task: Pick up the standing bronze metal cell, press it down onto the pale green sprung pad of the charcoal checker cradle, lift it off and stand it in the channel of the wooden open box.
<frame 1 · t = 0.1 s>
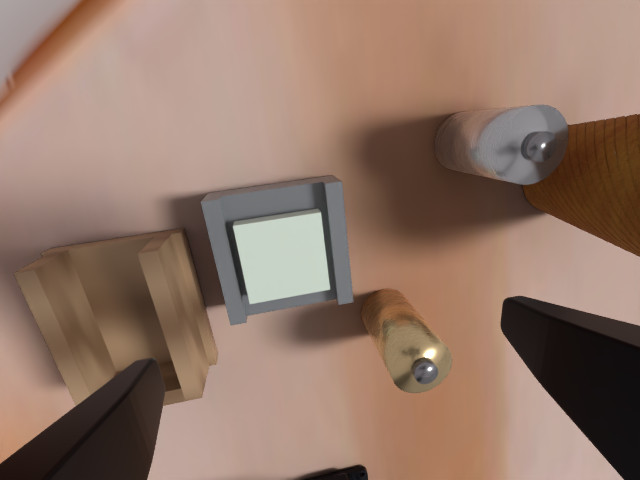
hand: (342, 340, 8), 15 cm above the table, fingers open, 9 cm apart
wooden open box: (142, 306, 22), on the table
disposable coffee cup: (558, 169, 24), on the table
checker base: (281, 241, 23), on the table
cell bronze: (384, 310, 26), on the table
cell steel: (460, 141, 22), on the table
checker pad: (283, 256, 20), point 3 cm above the table, slide at 0.0 cm
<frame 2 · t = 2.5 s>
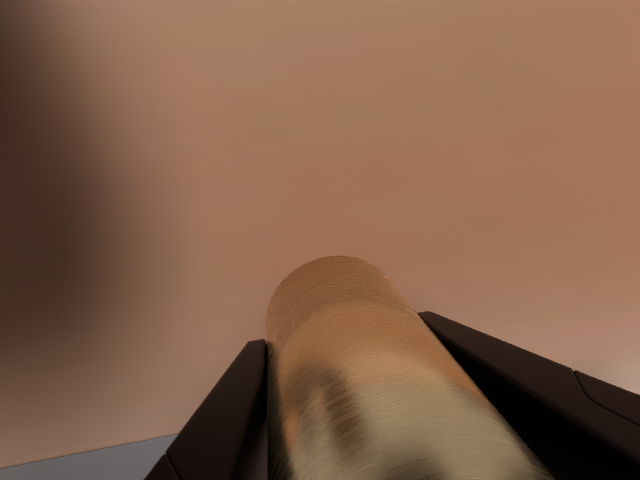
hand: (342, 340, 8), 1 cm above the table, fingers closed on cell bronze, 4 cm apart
cell bronze: (333, 318, 9), on the table, touching gripper
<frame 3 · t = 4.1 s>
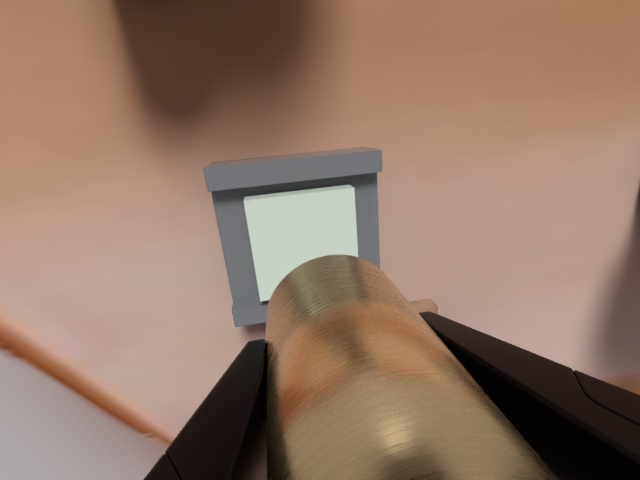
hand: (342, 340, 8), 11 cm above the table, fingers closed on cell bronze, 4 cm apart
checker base: (298, 227, 19), on the table
cell bronze: (333, 317, 9), point 10 cm above the table, touching gripper
checker pad: (304, 243, 16), point 3 cm above the table, slide at 0.0 cm
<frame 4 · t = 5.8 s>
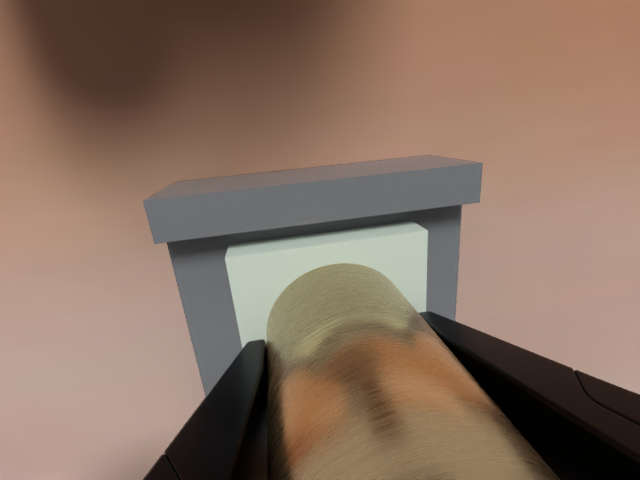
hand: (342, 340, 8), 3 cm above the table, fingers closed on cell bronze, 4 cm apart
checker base: (319, 283, 12), on the table
cell bronze: (338, 329, 9), point 3 cm above the table, touching checker pad, gripper
checker pad: (333, 321, 9), point 2 cm above the table, slide at 0.3 cm, touching cell bronze, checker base
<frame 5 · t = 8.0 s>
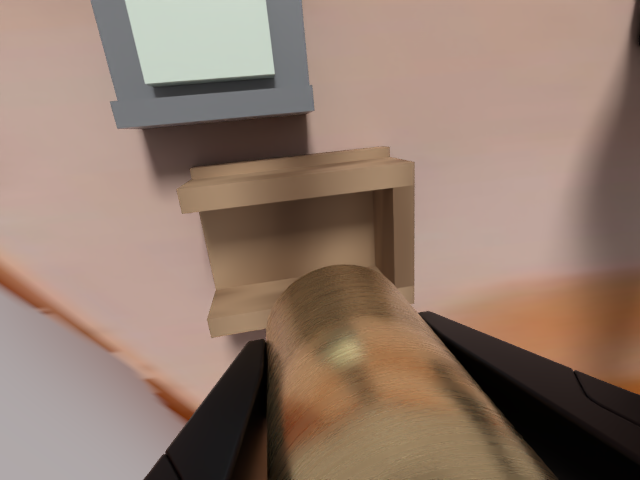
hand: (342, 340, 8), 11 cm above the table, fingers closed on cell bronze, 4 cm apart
wooden open box: (300, 228, 19), on the table
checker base: (210, 28, 15), on the table
cell bronze: (338, 331, 9), point 10 cm above the table, touching gripper
checker pad: (200, 8, 13), point 2 cm above the table, slide at 0.3 cm, touching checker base
when the fingers open (3 cm above the table, at t = 9.7 s): cell bronze drops 2 cm, resting on wooden open box.
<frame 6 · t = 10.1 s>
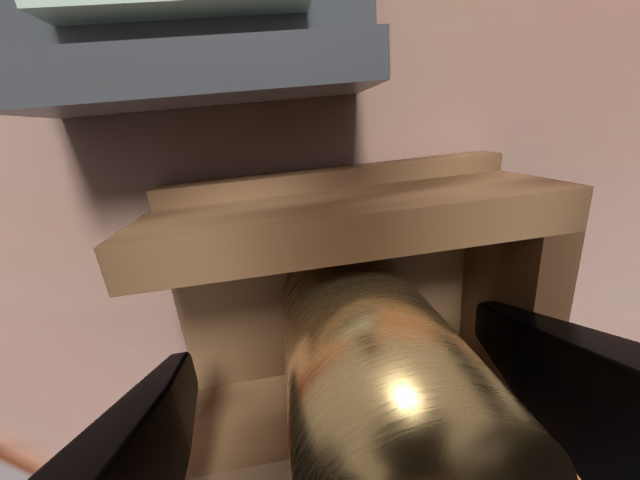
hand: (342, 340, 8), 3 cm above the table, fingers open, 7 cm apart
wooden open box: (337, 285, 11), on the table
cell bronze: (342, 297, 10), point 1 cm above the table, touching wooden open box
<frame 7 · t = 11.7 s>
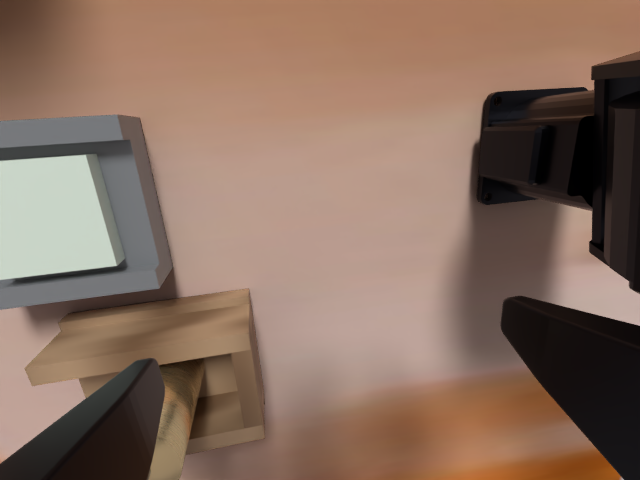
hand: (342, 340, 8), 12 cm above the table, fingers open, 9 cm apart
wooden open box: (175, 357, 21), on the table
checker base: (75, 205, 17), on the table
cell bronze: (171, 367, 20), point 1 cm above the table, touching wooden open box
checker pad: (46, 216, 15), point 2 cm above the table, slide at 0.3 cm, touching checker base
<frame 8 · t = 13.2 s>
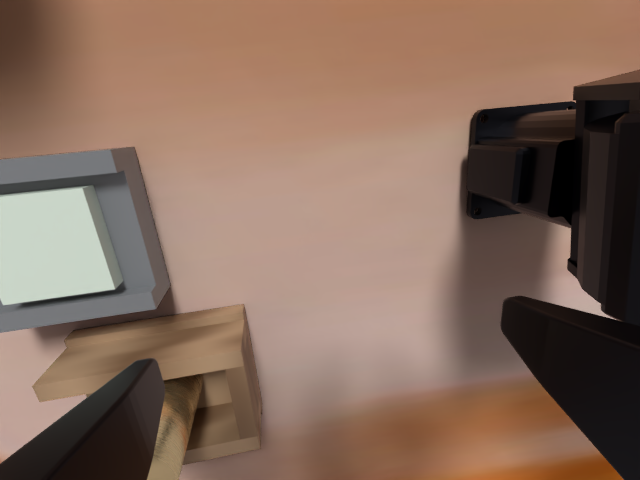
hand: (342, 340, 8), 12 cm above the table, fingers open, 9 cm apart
wooden open box: (176, 369, 21), on the table
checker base: (76, 230, 18), on the table
cell bronze: (171, 380, 20), point 1 cm above the table, touching wooden open box
checker pad: (48, 245, 15), point 2 cm above the table, slide at 0.3 cm, touching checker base
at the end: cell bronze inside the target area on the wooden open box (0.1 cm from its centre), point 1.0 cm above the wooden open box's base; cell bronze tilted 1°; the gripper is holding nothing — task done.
